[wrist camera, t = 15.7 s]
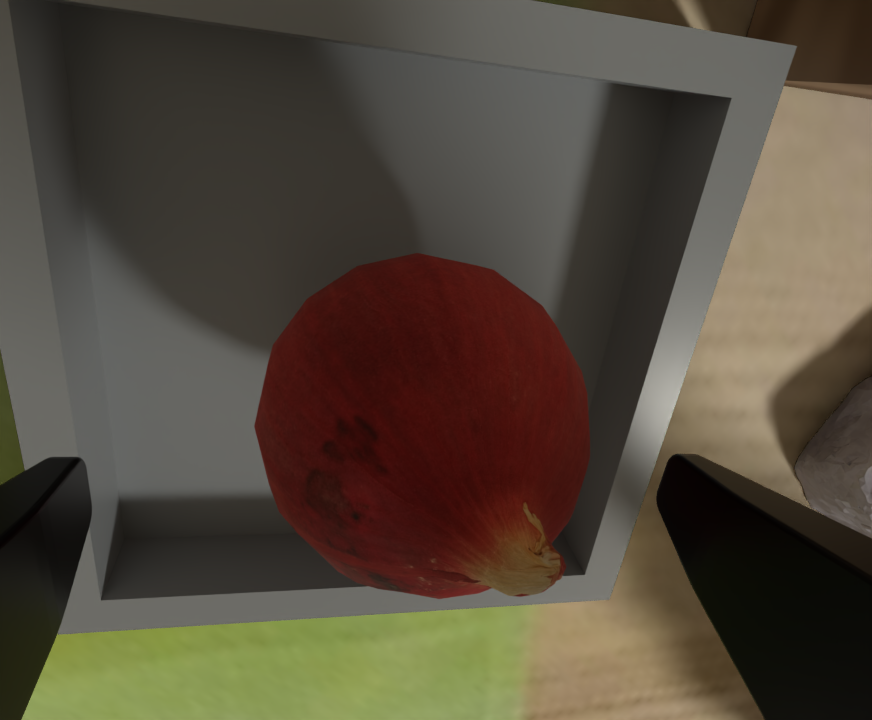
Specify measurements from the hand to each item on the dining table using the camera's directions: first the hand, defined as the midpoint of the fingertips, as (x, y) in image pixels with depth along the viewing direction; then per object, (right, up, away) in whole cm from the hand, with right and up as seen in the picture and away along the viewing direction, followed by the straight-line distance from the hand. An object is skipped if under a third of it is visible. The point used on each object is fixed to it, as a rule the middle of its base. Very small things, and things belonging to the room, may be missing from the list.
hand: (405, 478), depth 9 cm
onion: (-1, +2, +5) cm, 6 cm away
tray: (-1, +3, +6) cm, 7 cm away
